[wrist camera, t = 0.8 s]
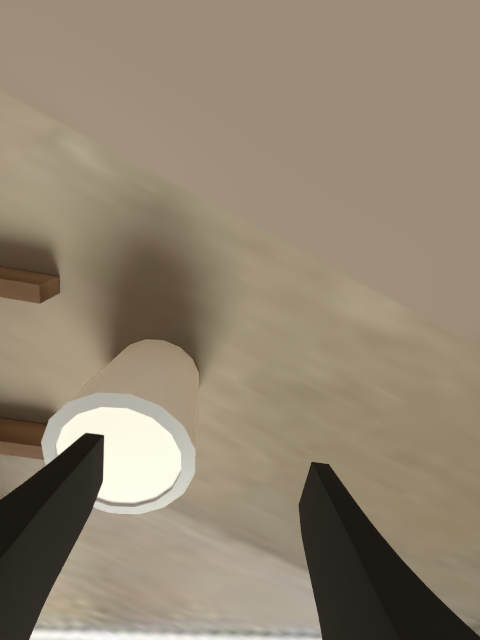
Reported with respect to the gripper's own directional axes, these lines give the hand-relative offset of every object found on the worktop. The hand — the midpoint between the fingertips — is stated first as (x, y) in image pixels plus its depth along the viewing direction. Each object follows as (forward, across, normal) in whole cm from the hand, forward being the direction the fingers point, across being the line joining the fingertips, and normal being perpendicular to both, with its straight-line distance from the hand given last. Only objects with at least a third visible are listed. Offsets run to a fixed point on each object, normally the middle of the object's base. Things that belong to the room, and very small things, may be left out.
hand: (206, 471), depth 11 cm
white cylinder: (+10, +4, +3) cm, 11 cm away
